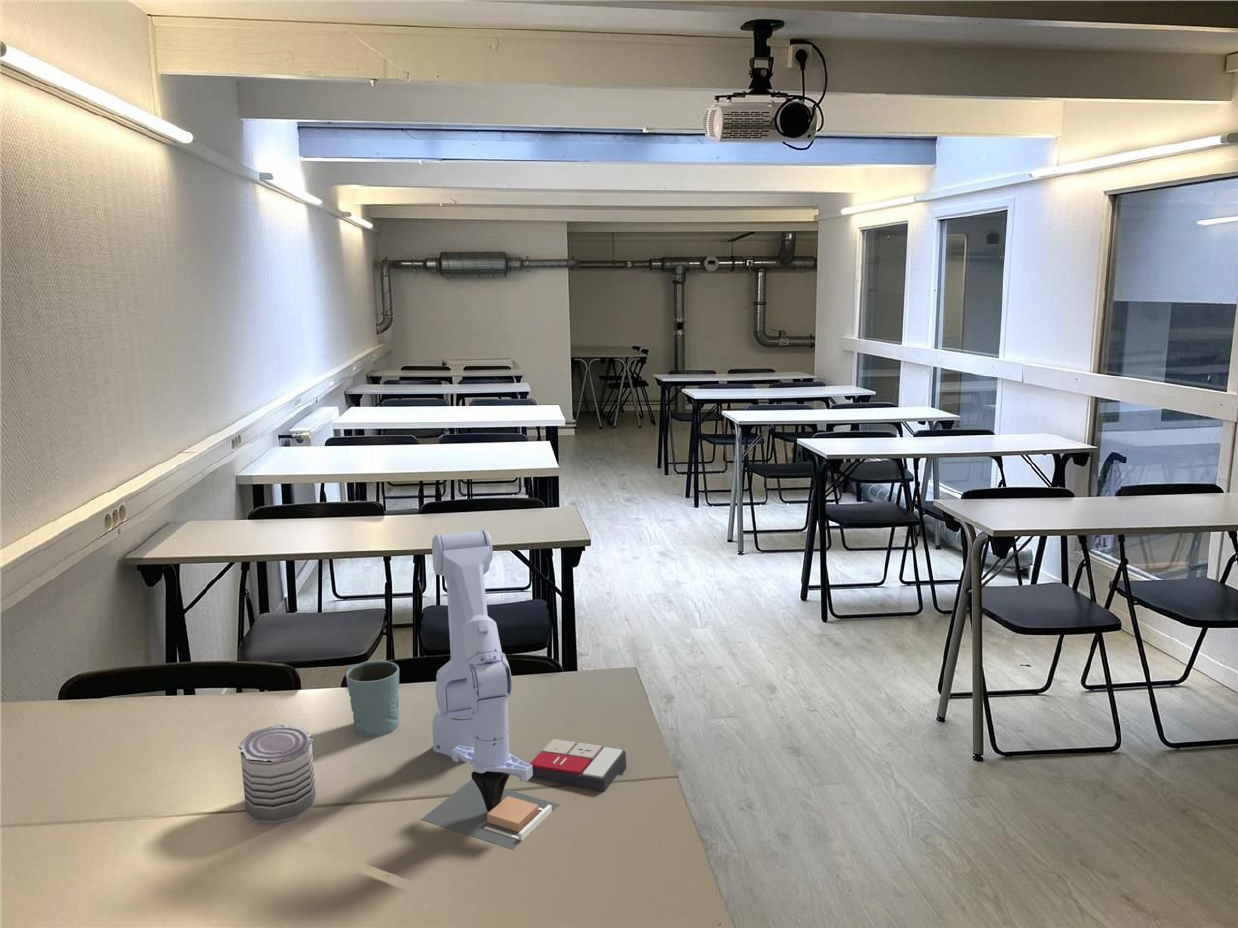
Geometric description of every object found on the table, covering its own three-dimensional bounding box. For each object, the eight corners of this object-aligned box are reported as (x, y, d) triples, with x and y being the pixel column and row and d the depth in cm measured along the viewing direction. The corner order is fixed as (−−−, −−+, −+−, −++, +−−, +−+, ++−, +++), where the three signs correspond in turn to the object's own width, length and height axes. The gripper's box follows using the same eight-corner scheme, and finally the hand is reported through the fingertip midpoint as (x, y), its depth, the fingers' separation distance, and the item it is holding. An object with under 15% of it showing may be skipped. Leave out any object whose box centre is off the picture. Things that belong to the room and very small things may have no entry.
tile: (487, 813, 150) (518, 823, 148) (507, 795, 156) (538, 804, 153) (487, 823, 151) (518, 832, 148) (508, 804, 156) (538, 813, 153)
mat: (420, 824, 152) (420, 812, 152) (472, 784, 164) (471, 772, 164) (513, 855, 144) (512, 842, 144) (559, 809, 156) (559, 797, 156)
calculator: (551, 736, 175) (626, 746, 169) (553, 757, 176) (627, 768, 170) (524, 763, 165) (603, 775, 159) (526, 786, 166) (604, 798, 160)
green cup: (412, 723, 187) (409, 667, 185) (374, 743, 179) (371, 685, 176) (377, 710, 193) (373, 656, 190) (338, 730, 184) (334, 673, 182)
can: (298, 779, 166) (293, 717, 164) (328, 804, 158) (324, 739, 156) (234, 805, 158) (228, 739, 156) (263, 832, 150) (257, 764, 148)
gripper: (439, 733, 151) (442, 809, 153) (514, 753, 144) (516, 832, 147) (465, 715, 157) (468, 789, 160) (538, 734, 150) (540, 810, 153)
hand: (493, 808), depth 154 cm, fingers closed
